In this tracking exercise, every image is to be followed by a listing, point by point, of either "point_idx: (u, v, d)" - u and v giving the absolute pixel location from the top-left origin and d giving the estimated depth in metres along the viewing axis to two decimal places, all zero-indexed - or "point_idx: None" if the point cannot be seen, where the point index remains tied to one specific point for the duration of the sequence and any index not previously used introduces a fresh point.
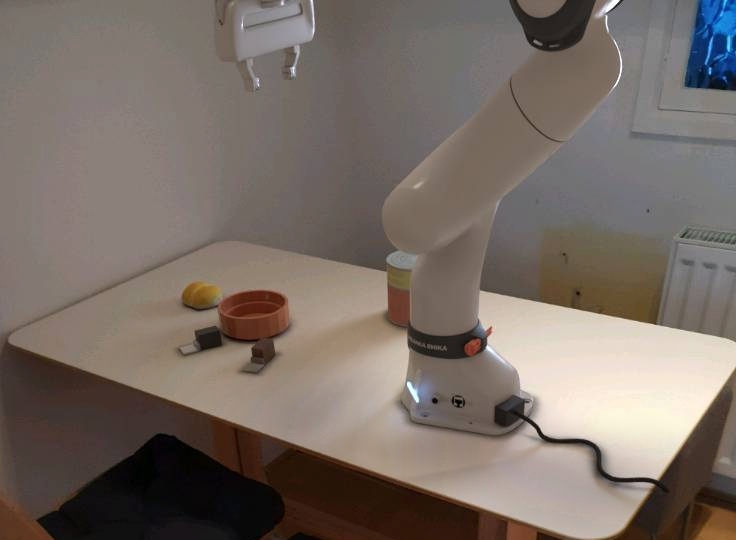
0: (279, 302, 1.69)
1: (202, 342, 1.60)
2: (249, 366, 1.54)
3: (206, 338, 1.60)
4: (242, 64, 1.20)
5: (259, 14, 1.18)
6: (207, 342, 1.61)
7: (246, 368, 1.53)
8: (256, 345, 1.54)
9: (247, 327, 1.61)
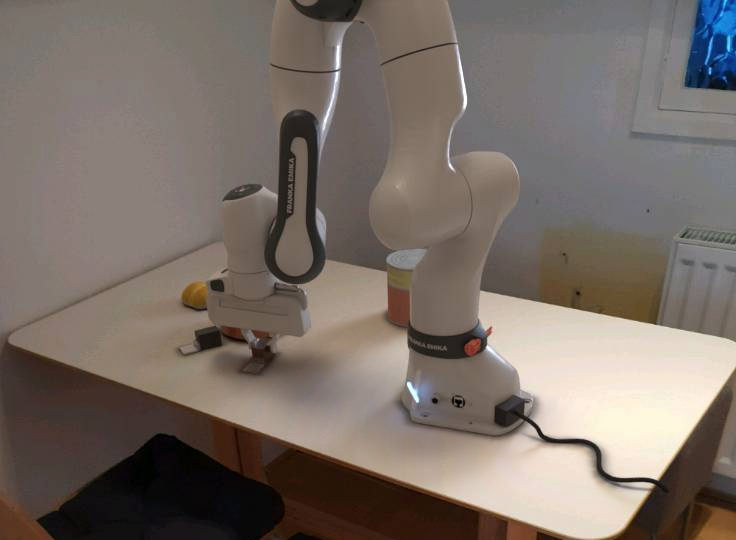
0: None
1: (202, 342, 1.60)
2: (249, 366, 1.54)
3: (206, 338, 1.60)
4: None
5: None
6: (207, 342, 1.61)
7: (246, 368, 1.53)
8: (256, 345, 1.54)
9: None
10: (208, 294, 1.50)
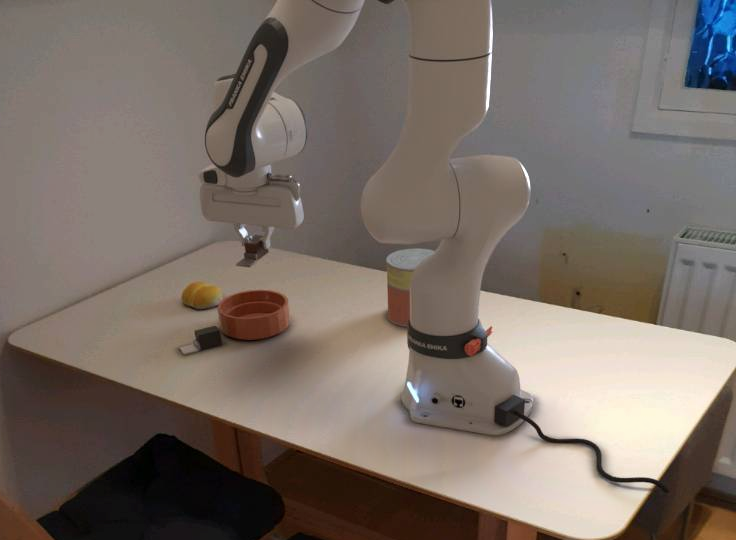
0: (279, 302, 1.69)
1: (202, 342, 1.60)
2: (242, 261, 1.55)
3: (206, 338, 1.60)
4: (272, 227, 1.53)
5: None
6: (207, 342, 1.61)
7: (239, 263, 1.54)
8: (249, 241, 1.55)
9: (247, 327, 1.61)
10: (201, 187, 1.51)
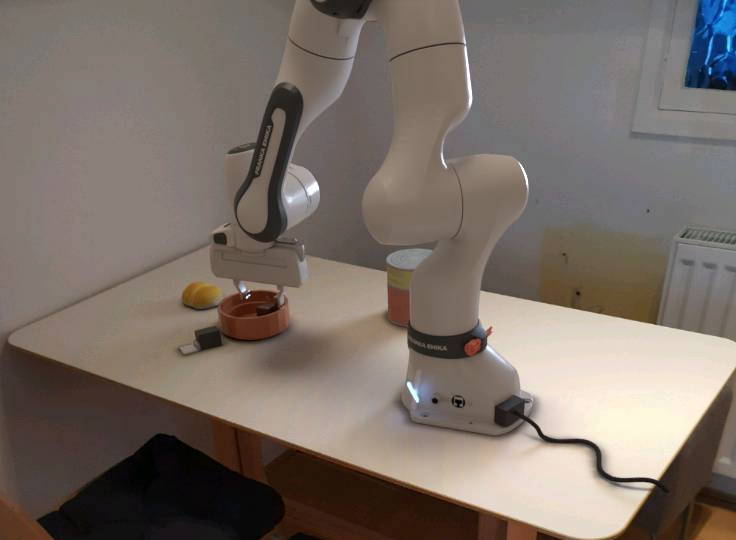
0: None
1: (202, 342, 1.60)
2: None
3: (206, 338, 1.60)
4: (286, 286, 1.61)
5: None
6: (207, 342, 1.61)
7: None
8: (261, 306, 1.66)
9: (247, 327, 1.61)
10: (211, 247, 1.60)
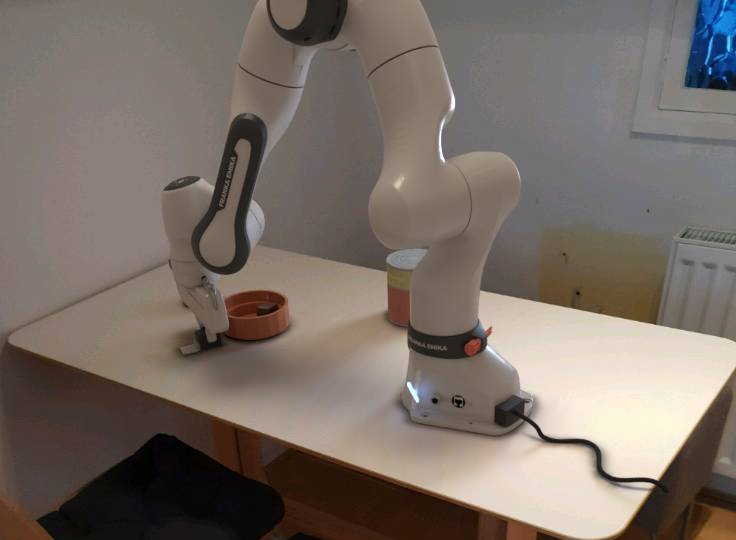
0: (279, 302, 1.69)
1: (202, 342, 1.60)
2: None
3: None
4: None
5: None
6: (207, 342, 1.61)
7: None
8: (261, 306, 1.66)
9: (247, 327, 1.61)
10: None
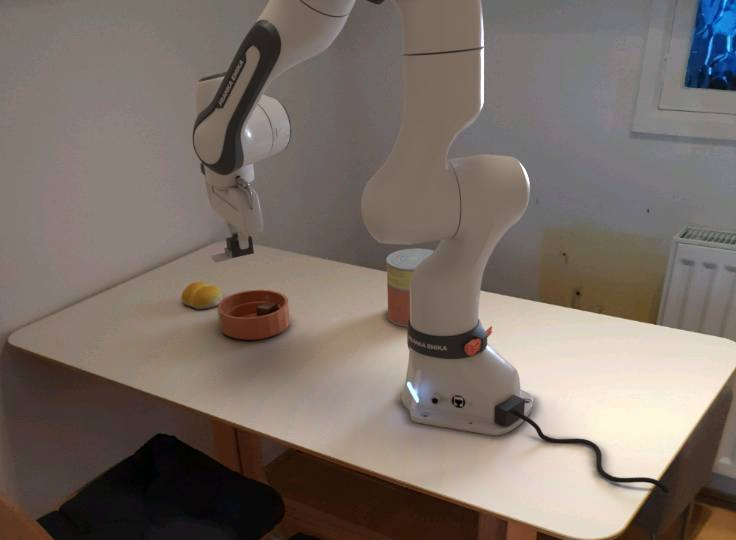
0: (279, 302, 1.69)
1: (234, 250, 1.58)
2: None
3: None
4: None
5: None
6: (239, 250, 1.58)
7: None
8: (261, 306, 1.66)
9: (247, 327, 1.61)
10: (204, 177, 1.57)
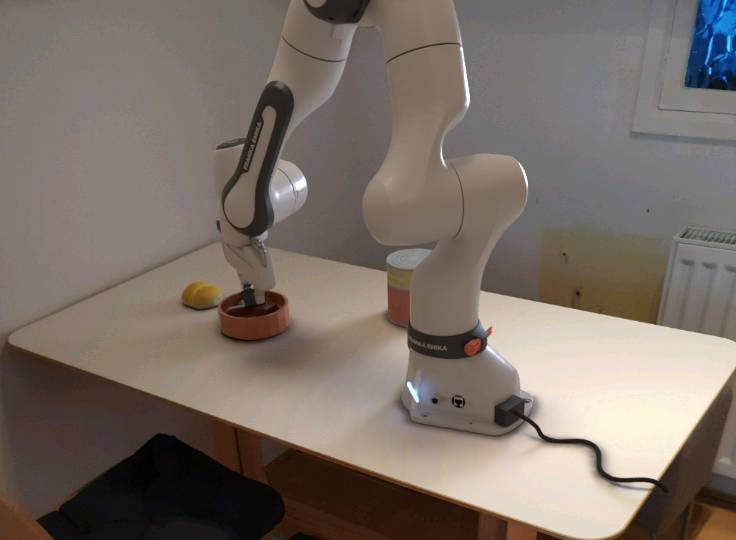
0: (279, 302, 1.69)
1: (246, 299, 1.66)
2: None
3: (249, 294, 1.66)
4: None
5: None
6: (250, 298, 1.66)
7: None
8: (261, 306, 1.66)
9: (247, 327, 1.61)
10: None
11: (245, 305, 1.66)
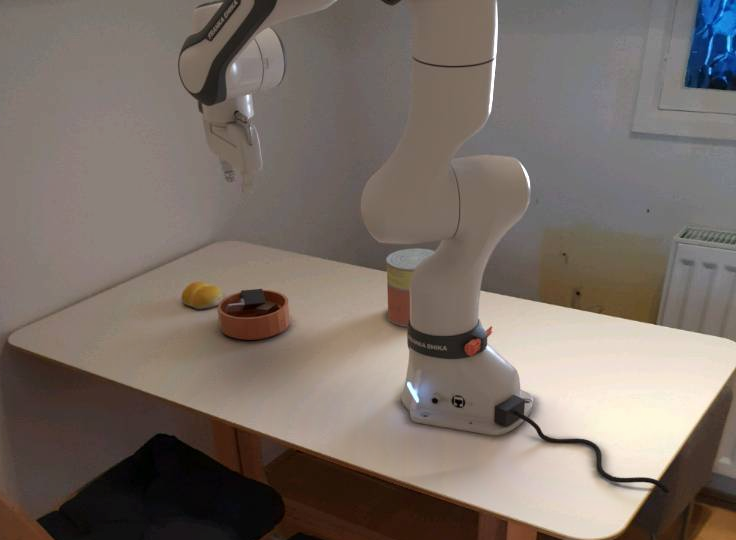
0: (279, 302, 1.69)
1: (246, 298, 1.67)
2: None
3: (249, 294, 1.67)
4: (250, 173, 1.47)
5: None
6: (250, 298, 1.67)
7: None
8: (261, 306, 1.66)
9: (247, 327, 1.61)
10: (202, 116, 1.52)
11: (245, 303, 1.66)
